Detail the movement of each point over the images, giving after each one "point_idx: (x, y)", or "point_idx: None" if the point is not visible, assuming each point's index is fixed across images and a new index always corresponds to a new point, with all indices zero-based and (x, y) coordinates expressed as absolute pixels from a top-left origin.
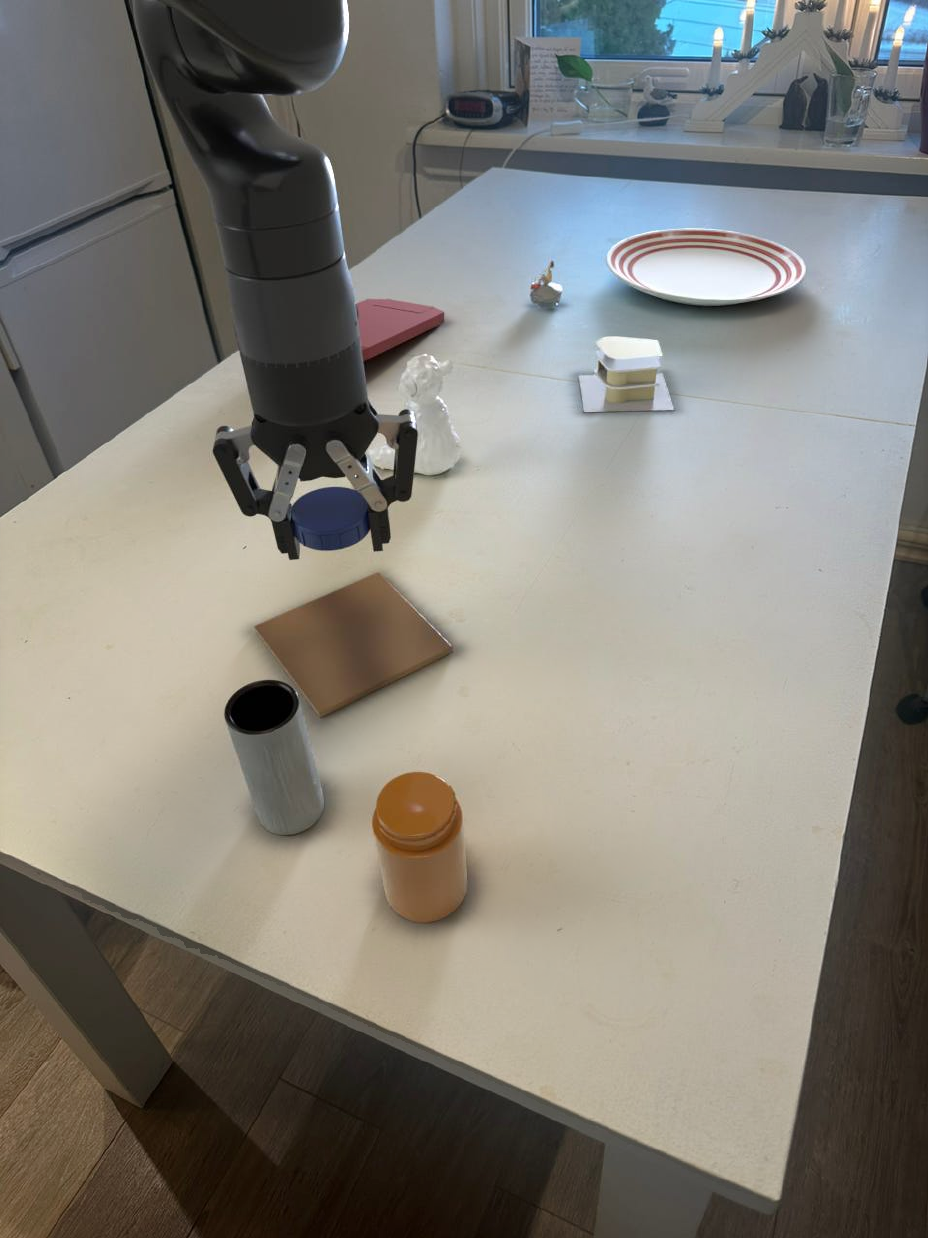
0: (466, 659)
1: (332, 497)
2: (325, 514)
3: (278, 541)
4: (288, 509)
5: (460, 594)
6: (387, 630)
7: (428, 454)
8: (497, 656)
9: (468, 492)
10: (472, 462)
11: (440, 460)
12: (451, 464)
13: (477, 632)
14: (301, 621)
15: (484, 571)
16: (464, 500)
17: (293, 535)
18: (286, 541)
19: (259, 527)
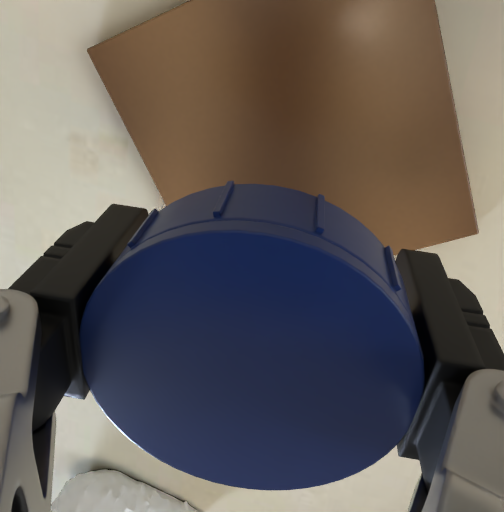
0: (66, 17)
1: (225, 435)
2: (266, 351)
3: (474, 315)
4: (422, 428)
5: (76, 209)
6: (216, 141)
7: (99, 505)
8: (2, 7)
9: (60, 423)
10: (54, 473)
11: (84, 489)
12: (75, 478)
13: (44, 95)
14: (382, 218)
15: (33, 252)
16: (66, 411)
17: (421, 309)
18: (450, 297)
19: (396, 456)
